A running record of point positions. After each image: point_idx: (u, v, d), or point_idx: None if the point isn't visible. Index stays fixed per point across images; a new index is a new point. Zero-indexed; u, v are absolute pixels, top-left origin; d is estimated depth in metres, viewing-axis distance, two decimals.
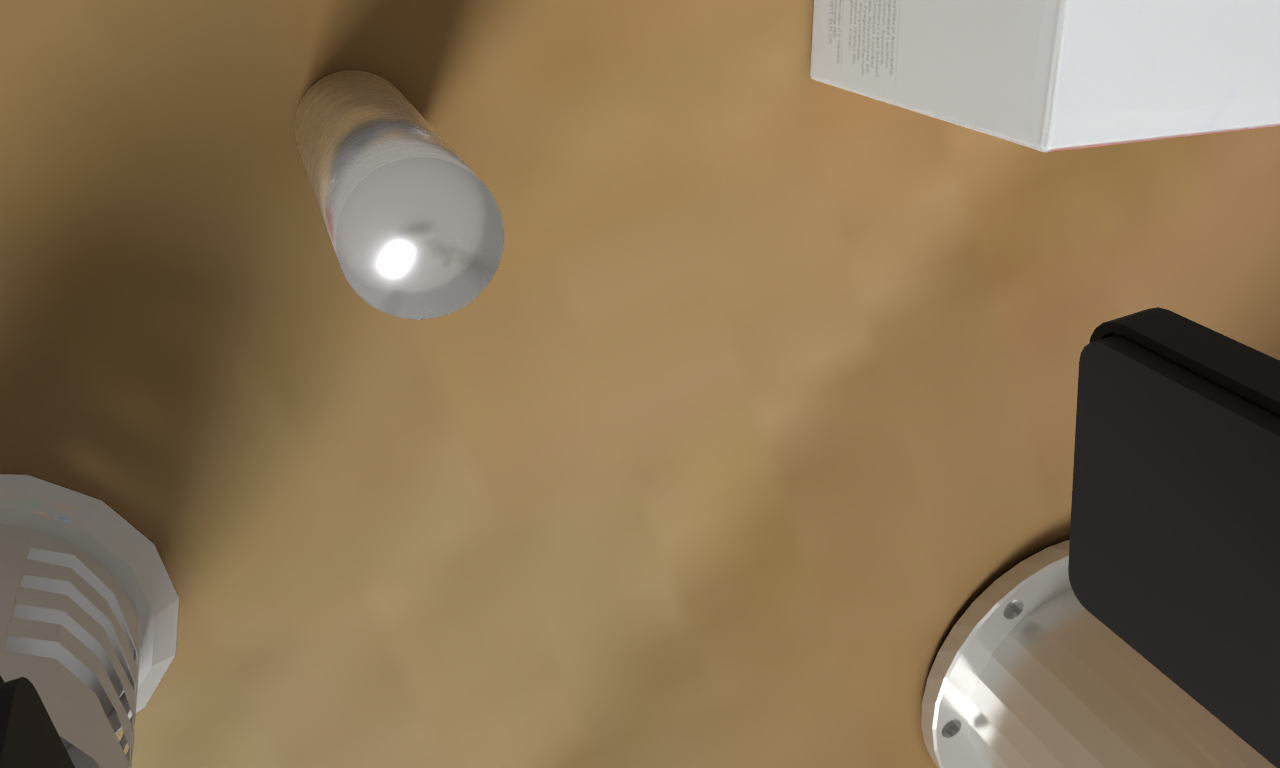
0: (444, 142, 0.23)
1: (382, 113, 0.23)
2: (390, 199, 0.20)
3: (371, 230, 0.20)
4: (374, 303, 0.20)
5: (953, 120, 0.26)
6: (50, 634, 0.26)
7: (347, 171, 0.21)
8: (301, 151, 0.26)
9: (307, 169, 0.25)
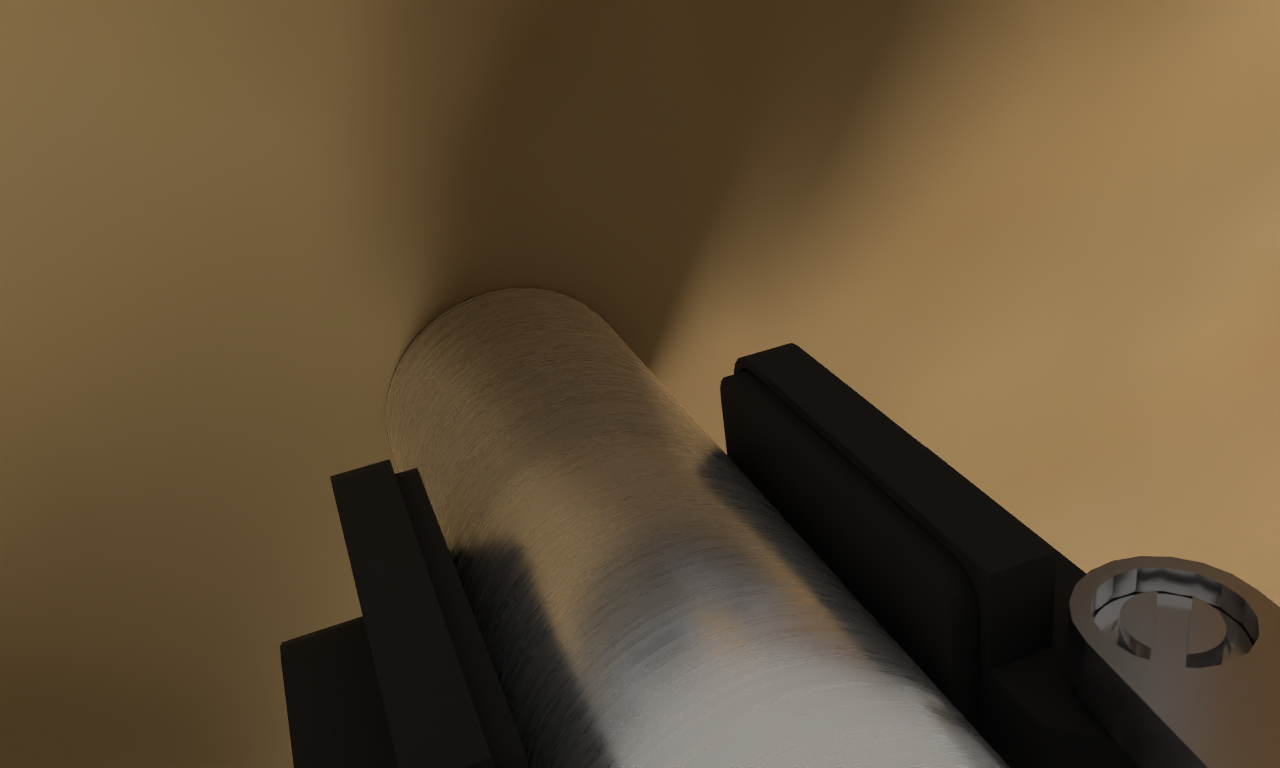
0: (941, 697, 0.07)
1: (713, 562, 0.08)
2: None
3: None
4: None
5: None
6: None
7: None
8: None
9: None
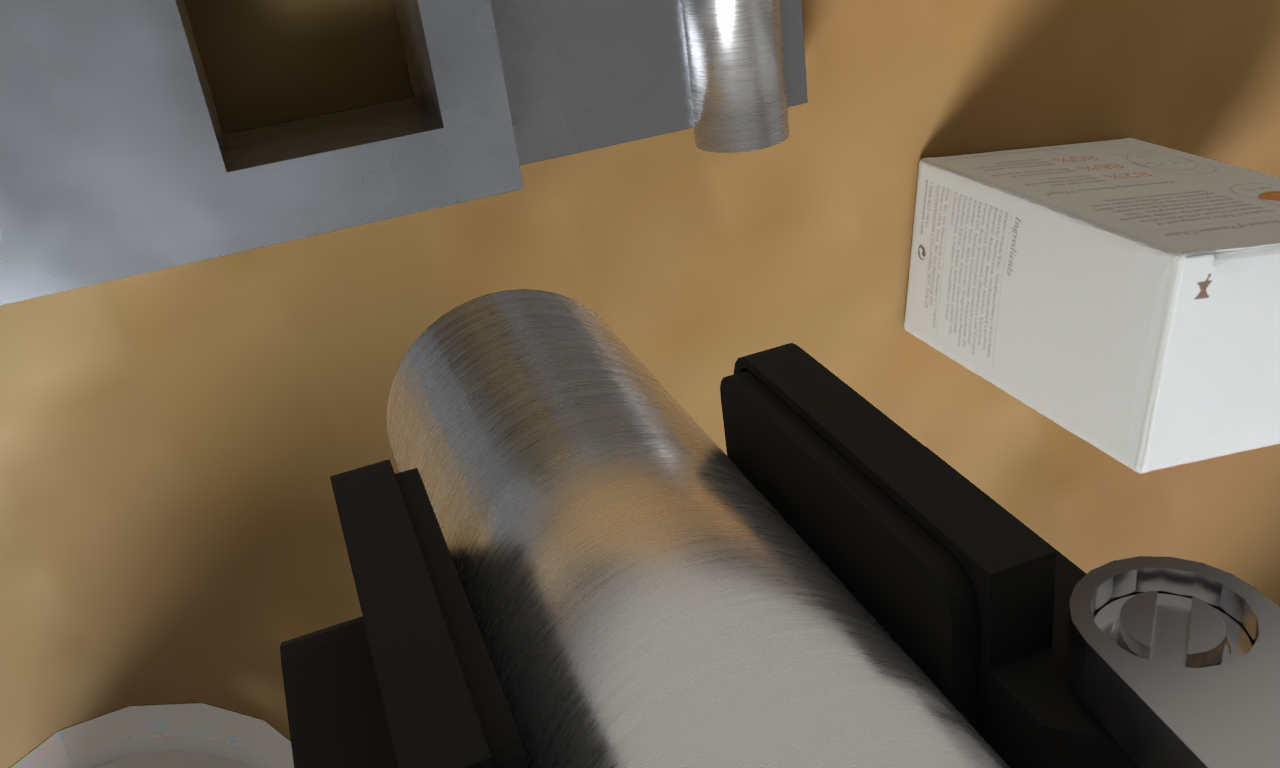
0: (943, 700, 0.07)
1: (716, 564, 0.08)
2: None
3: None
4: None
5: (1050, 417, 0.29)
6: None
7: None
8: None
9: None
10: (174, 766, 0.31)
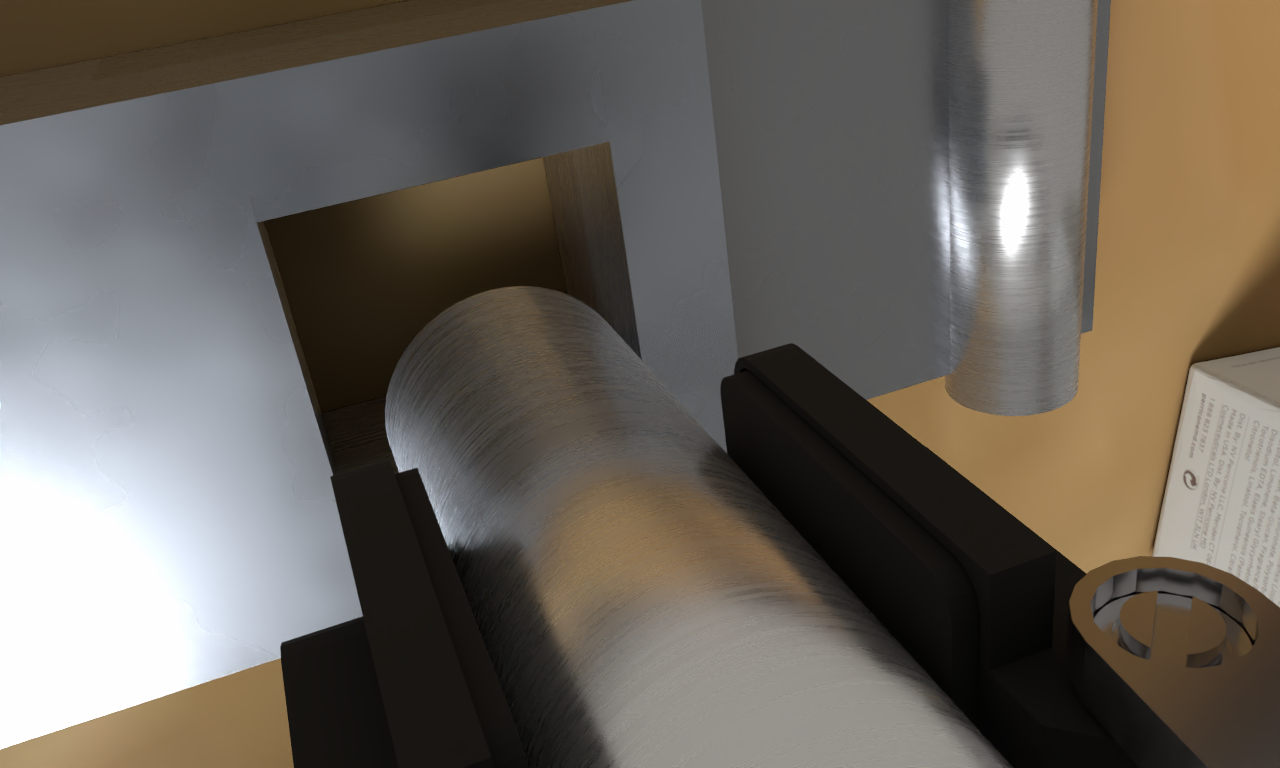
0: (943, 696, 0.07)
1: (714, 561, 0.08)
2: None
3: None
4: None
5: None
6: None
7: None
8: None
9: None
10: None
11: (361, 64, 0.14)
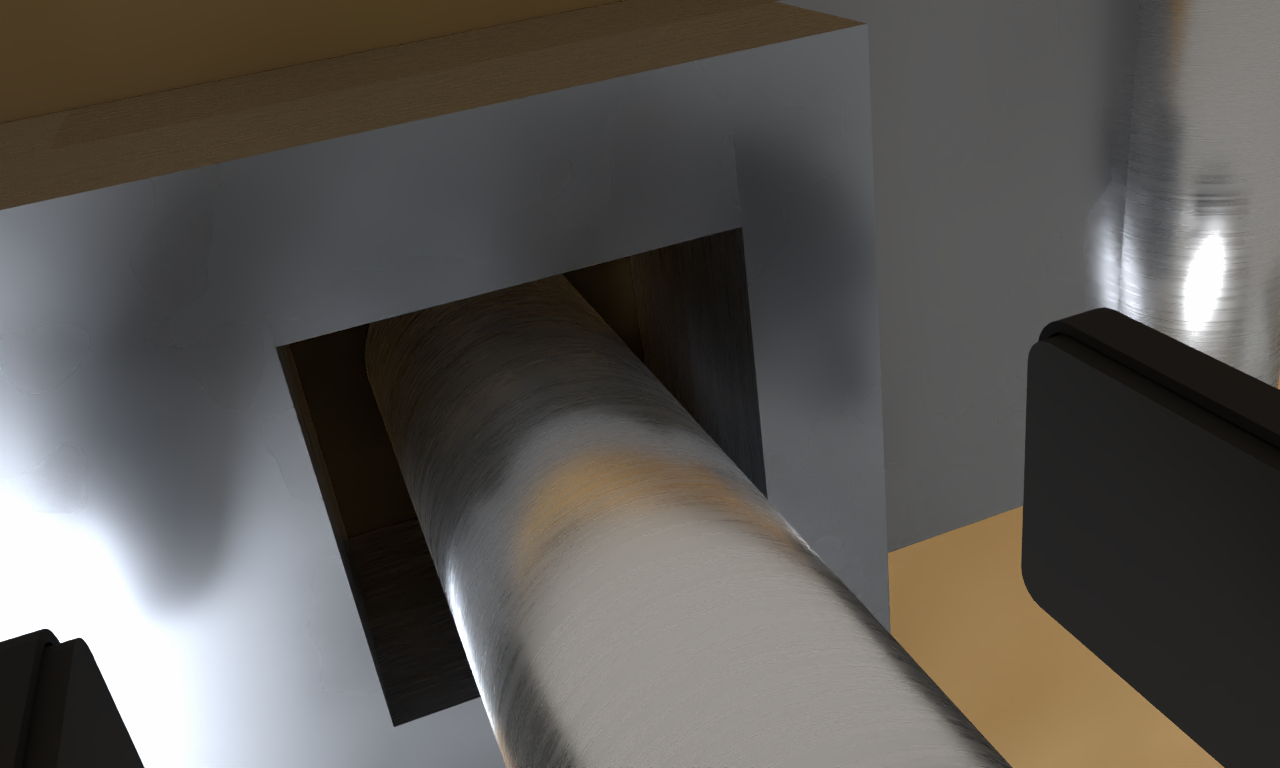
0: (800, 539, 0.09)
1: (623, 440, 0.10)
2: None
3: None
4: None
5: None
6: None
7: (616, 739, 0.07)
8: (393, 435, 0.13)
9: (419, 511, 0.11)
10: None
11: (420, 133, 0.10)
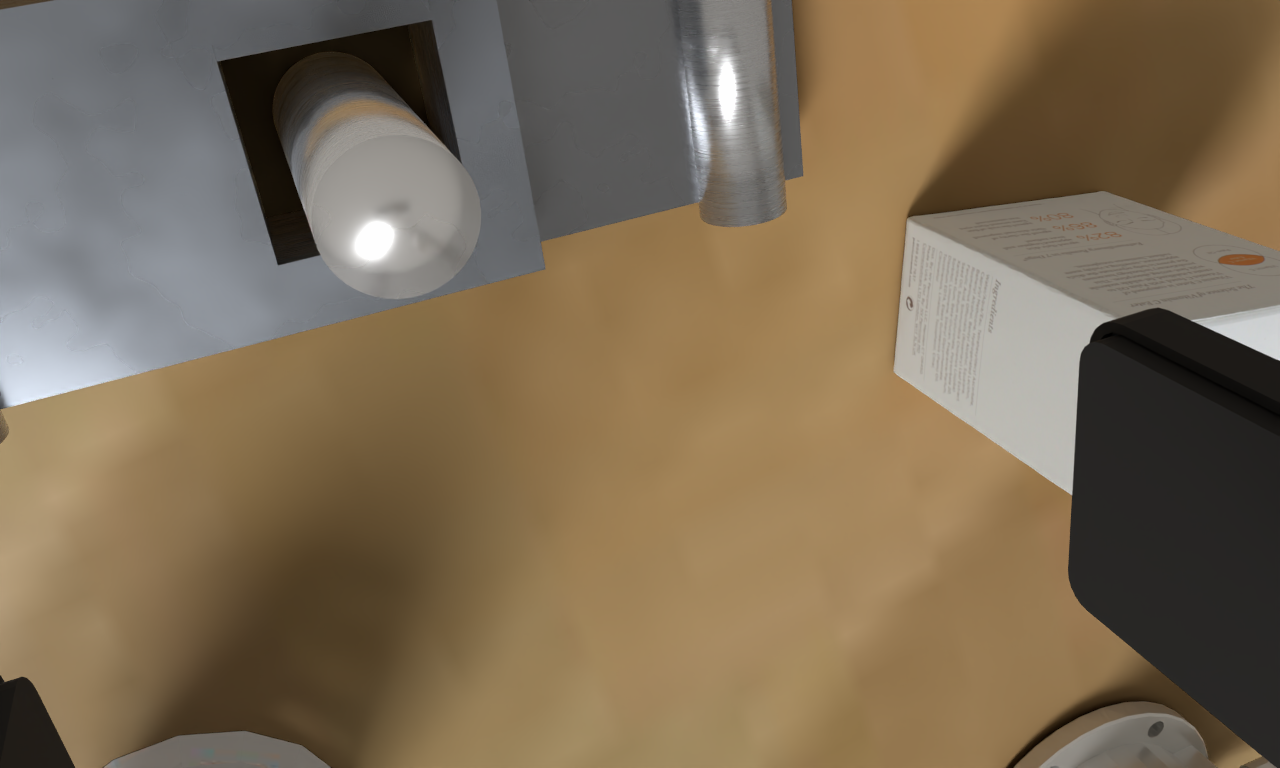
0: (422, 122, 0.22)
1: (359, 93, 0.23)
2: (366, 177, 0.20)
3: (347, 209, 0.20)
4: (351, 283, 0.20)
5: (1028, 464, 0.32)
6: None
7: (323, 150, 0.20)
8: (279, 133, 0.26)
9: (285, 150, 0.25)
10: None
11: None
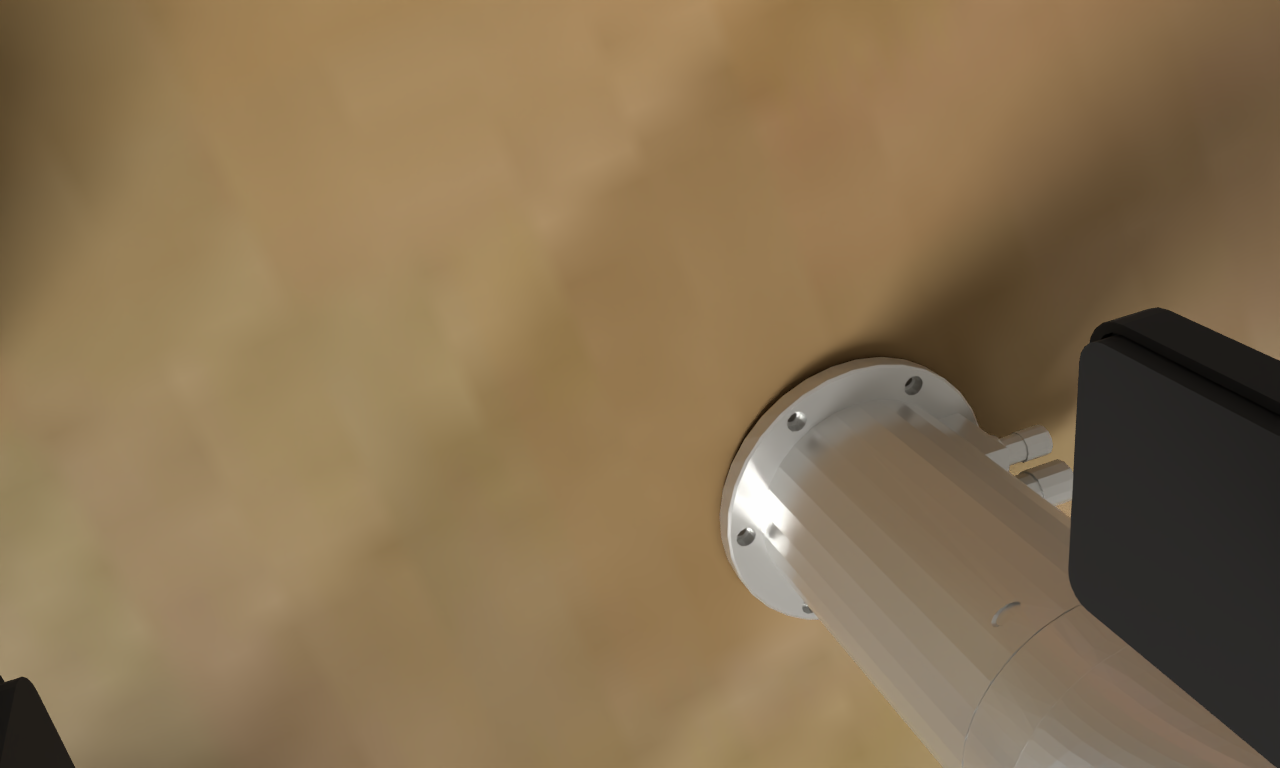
0: None
1: None
2: None
3: None
4: None
5: None
6: None
7: None
8: None
9: None
10: None
11: None
